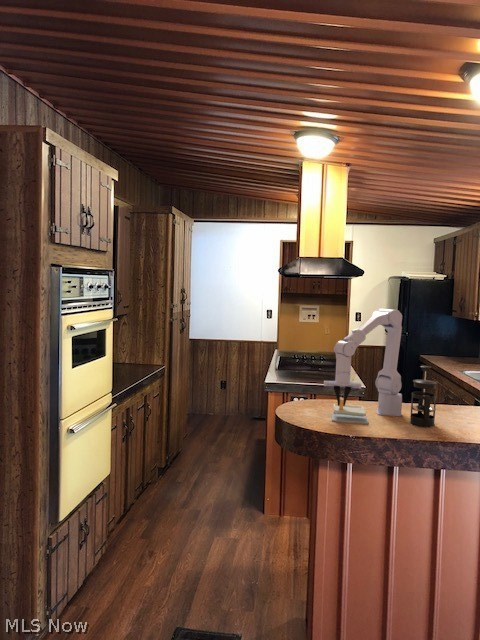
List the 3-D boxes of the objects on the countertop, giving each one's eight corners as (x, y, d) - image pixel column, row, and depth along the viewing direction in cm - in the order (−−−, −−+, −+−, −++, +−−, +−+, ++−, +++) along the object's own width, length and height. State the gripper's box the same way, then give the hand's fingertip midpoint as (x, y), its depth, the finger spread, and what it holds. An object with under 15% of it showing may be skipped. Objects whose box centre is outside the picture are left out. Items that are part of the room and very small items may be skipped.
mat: (366, 417, 216) (366, 416, 216) (368, 424, 207) (368, 422, 207) (331, 415, 219) (331, 413, 218) (331, 421, 209) (331, 419, 209)
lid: (364, 412, 215) (365, 399, 215) (365, 417, 208) (367, 403, 207) (333, 409, 217) (335, 395, 217) (334, 414, 209) (335, 400, 209)
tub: (362, 411, 226) (362, 405, 226) (363, 416, 219) (363, 410, 218) (333, 409, 228) (333, 403, 228) (333, 414, 220) (334, 408, 220)
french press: (406, 419, 216) (410, 363, 214) (430, 421, 215) (434, 364, 213) (413, 427, 204) (417, 368, 202) (438, 429, 203) (443, 369, 201)
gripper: (324, 371, 209) (322, 406, 210) (362, 374, 207) (360, 409, 208) (324, 368, 216) (322, 402, 217) (361, 371, 214) (359, 404, 215)
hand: (341, 405), depth 213 cm, fingers closed on lid
